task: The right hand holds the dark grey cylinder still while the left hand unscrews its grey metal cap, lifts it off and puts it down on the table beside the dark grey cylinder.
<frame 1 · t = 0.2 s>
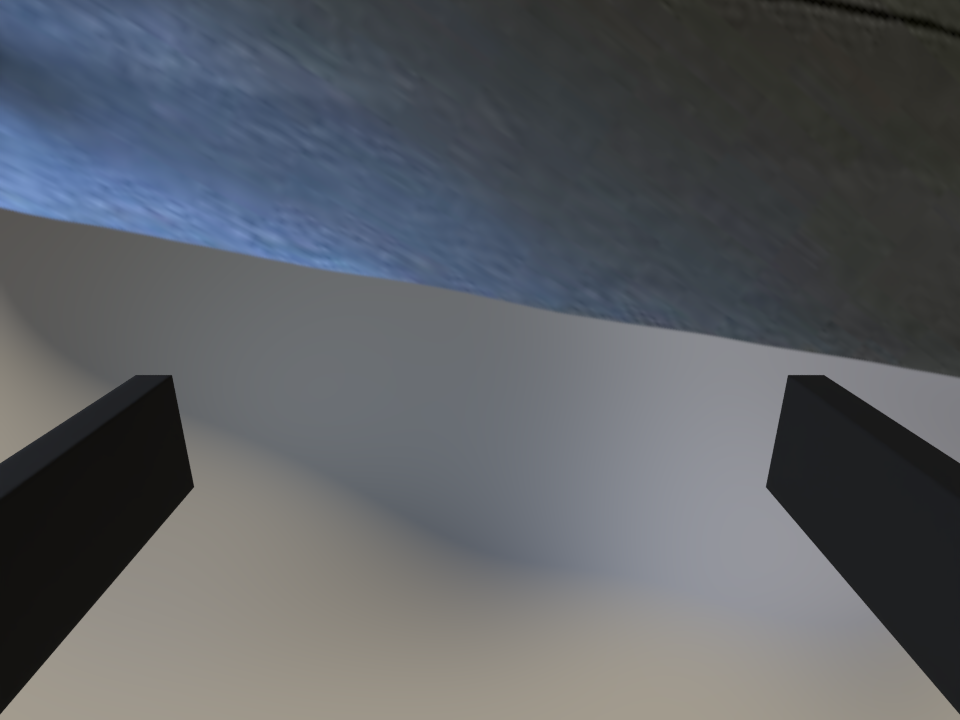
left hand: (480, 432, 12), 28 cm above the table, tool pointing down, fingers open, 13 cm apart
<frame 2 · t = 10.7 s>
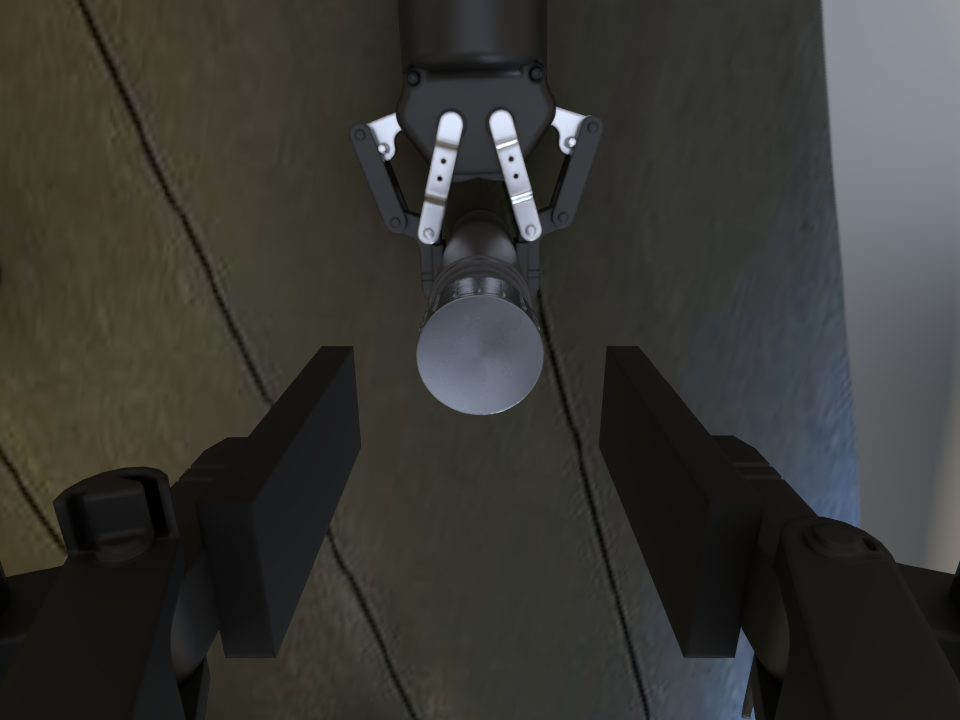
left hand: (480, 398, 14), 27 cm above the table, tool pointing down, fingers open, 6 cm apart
right hand: (481, 302, 34), fingers closed on dark grey cylinder, 4 cm apart
cap: (479, 354, 17), point 24 cm above the table, screwed on, not yet turned
dark grey cylinder: (480, 239, 39), on the table, touching right hand
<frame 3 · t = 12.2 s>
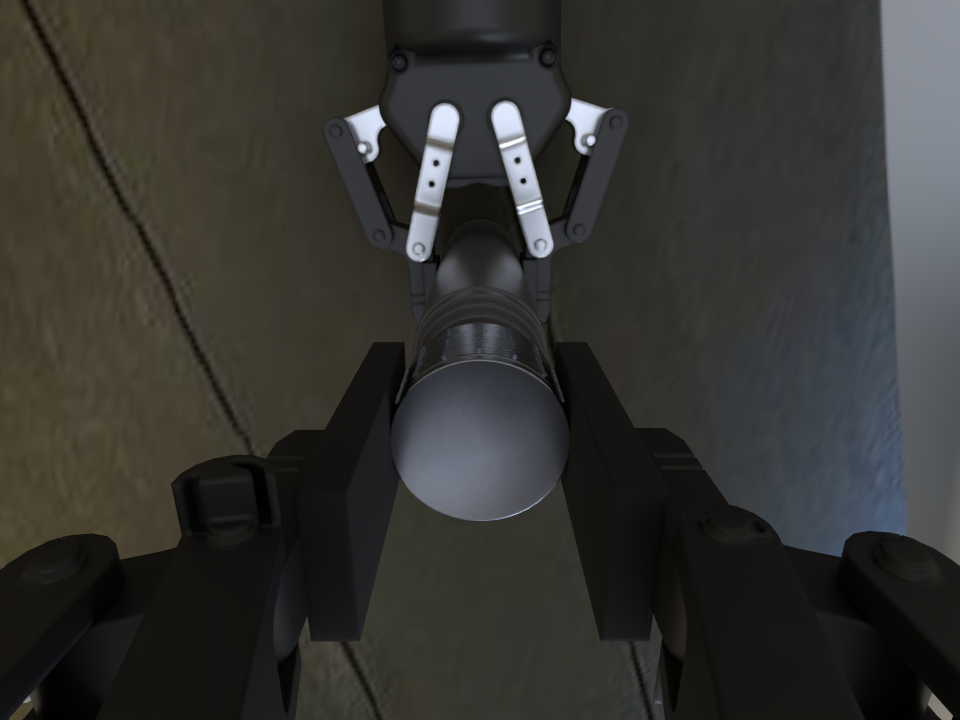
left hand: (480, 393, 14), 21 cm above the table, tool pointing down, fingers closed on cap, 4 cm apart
right hand: (482, 328, 29), fingers closed on dark grey cylinder, 4 cm apart
cap: (480, 438, 12), point 24 cm above the table, screwed on, not yet turned, touching left hand
dark grey cylinder: (480, 252, 34), on the table, touching right hand
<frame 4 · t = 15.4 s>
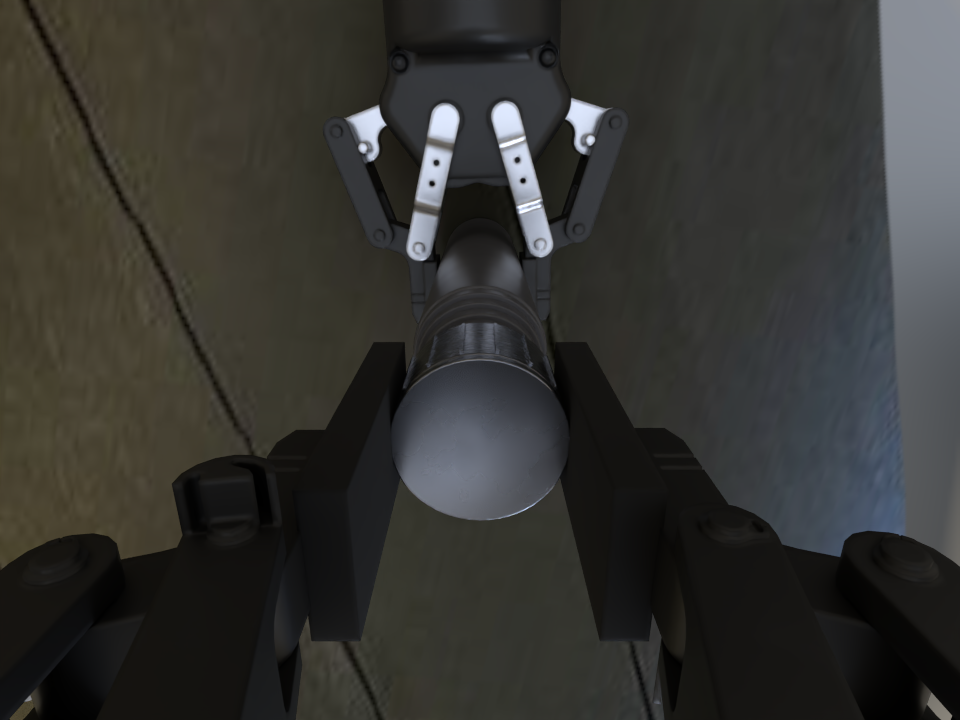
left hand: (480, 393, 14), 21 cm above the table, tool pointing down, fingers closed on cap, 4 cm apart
right hand: (482, 327, 29), fingers closed on dark grey cylinder, 4 cm apart
cap: (480, 437, 12), point 24 cm above the table, turned 101° so far, risen 0.1 cm, still on its thread, touching left hand
dark grey cylinder: (480, 252, 35), on the table, touching right hand
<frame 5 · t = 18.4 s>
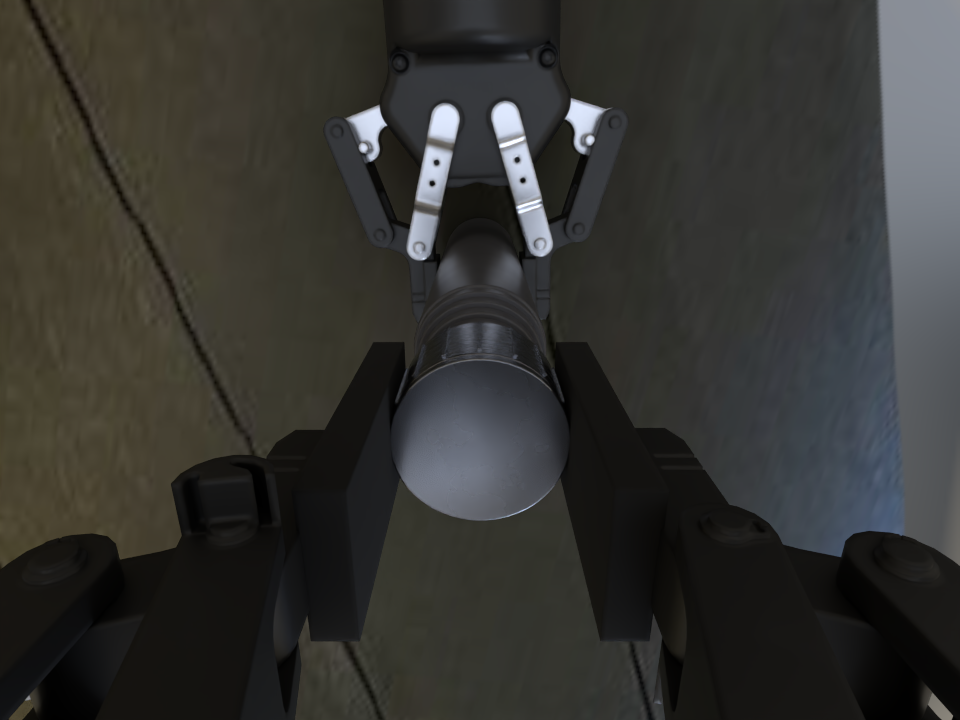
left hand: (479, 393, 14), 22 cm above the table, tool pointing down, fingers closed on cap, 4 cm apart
right hand: (482, 326, 29), fingers closed on dark grey cylinder, 4 cm apart
cap: (480, 437, 12), point 24 cm above the table, turned 202° so far, risen 0.2 cm, still on its thread, touching left hand
dark grey cylinder: (480, 252, 35), on the table, touching right hand
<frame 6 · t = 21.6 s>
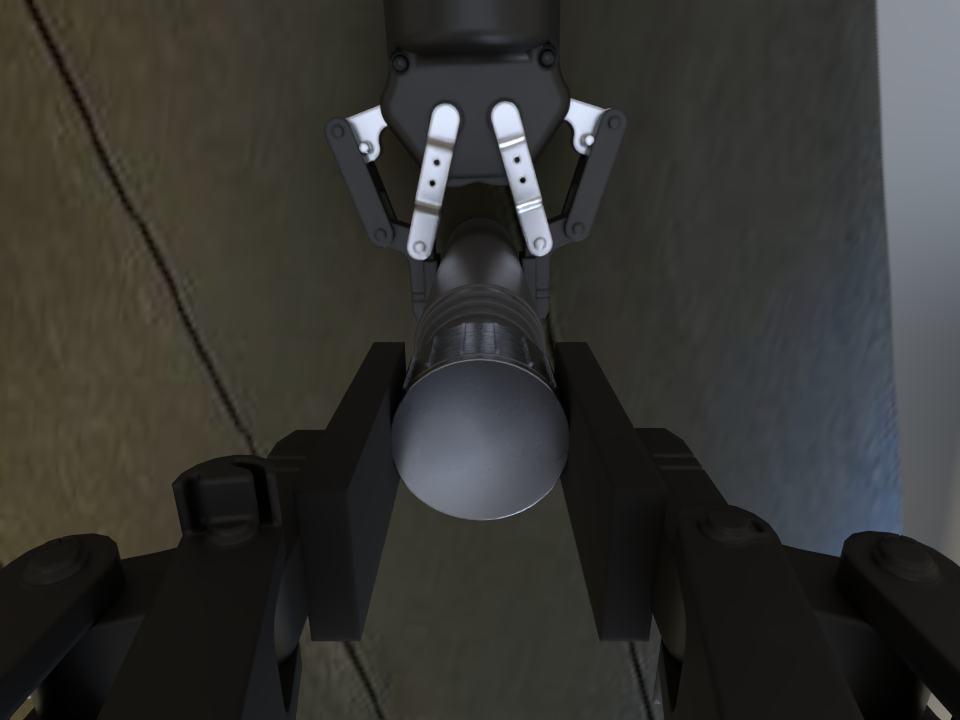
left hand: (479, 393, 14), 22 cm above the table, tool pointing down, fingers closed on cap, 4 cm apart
right hand: (482, 326, 29), fingers closed on dark grey cylinder, 4 cm apart
cap: (480, 437, 12), point 24 cm above the table, turned 304° so far, risen 0.3 cm, still on its thread, touching left hand
dark grey cylinder: (480, 251, 35), on the table, touching right hand
when the left hand's fingers open (1 cm above the table, at t = 27.7 s): cap drops 1 cm, point 2 cm above the table.
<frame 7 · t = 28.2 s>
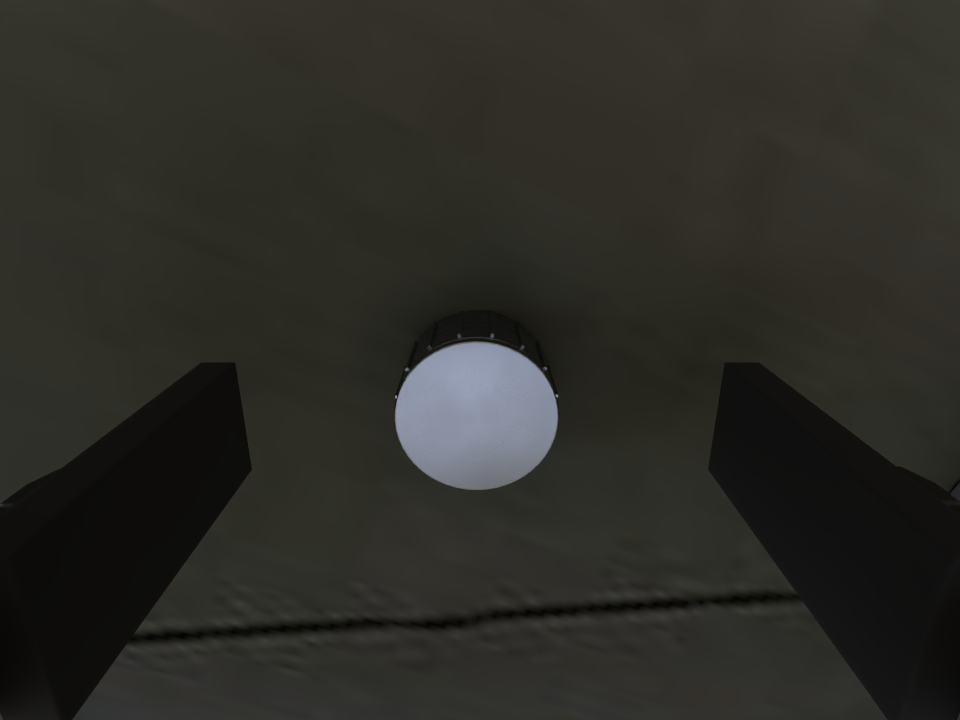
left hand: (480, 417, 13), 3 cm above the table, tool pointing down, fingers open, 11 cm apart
cap: (476, 414, 13), point 2 cm above the table, off its thread
when the right hand's fingers open (7 cm above the table, at t = 29.0 s): dark grey cylinder stays where it is, on the table.
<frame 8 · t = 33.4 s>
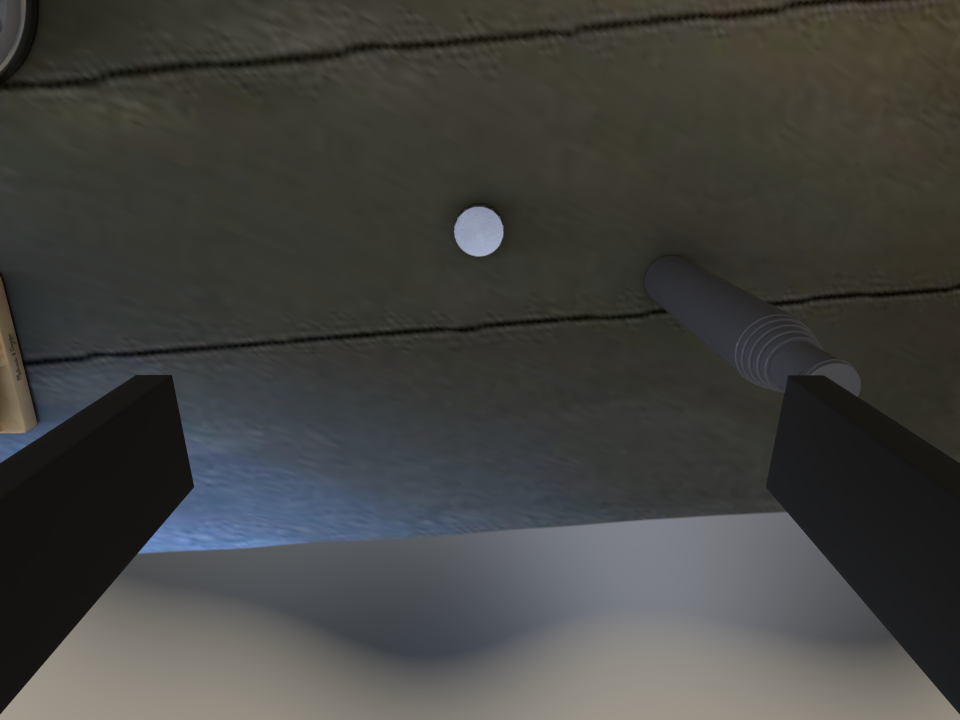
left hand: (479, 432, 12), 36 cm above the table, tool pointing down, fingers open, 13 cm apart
cap: (478, 231, 44), point 2 cm above the table, off its thread
dark grey cylinder: (668, 279, 48), on the table
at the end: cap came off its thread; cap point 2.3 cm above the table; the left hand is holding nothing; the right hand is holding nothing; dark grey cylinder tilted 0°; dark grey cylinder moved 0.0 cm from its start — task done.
